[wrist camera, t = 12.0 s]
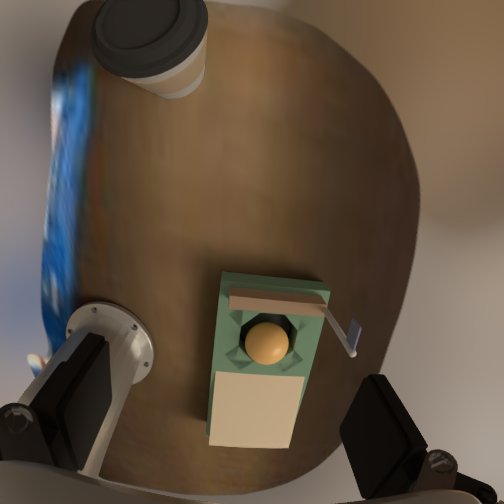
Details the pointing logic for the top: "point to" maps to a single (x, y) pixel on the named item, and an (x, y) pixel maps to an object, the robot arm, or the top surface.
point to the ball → (266, 343)
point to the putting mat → (258, 375)
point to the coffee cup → (153, 43)
